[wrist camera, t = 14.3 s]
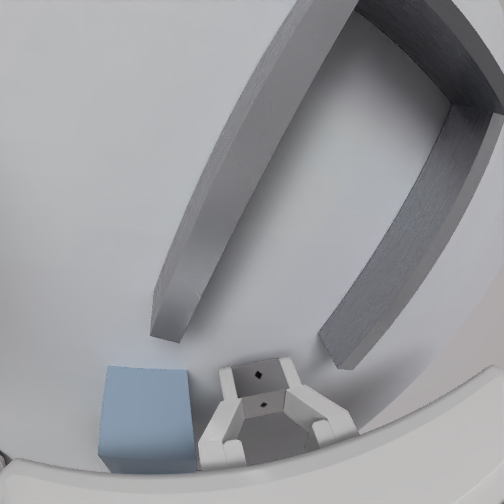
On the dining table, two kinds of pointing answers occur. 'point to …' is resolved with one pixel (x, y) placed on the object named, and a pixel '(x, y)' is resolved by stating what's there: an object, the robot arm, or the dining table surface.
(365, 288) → the grey u-shaped piece
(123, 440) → the block
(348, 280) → the dining table surface
